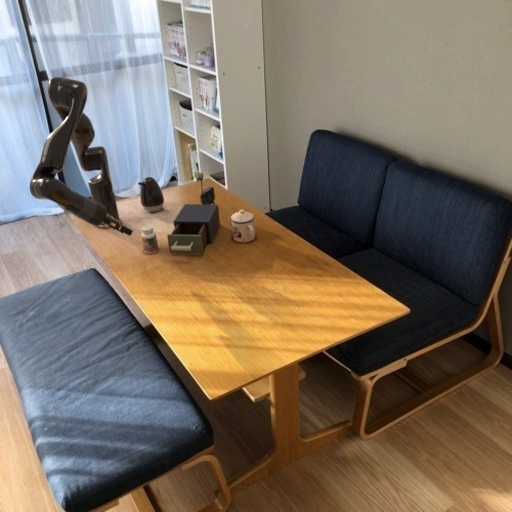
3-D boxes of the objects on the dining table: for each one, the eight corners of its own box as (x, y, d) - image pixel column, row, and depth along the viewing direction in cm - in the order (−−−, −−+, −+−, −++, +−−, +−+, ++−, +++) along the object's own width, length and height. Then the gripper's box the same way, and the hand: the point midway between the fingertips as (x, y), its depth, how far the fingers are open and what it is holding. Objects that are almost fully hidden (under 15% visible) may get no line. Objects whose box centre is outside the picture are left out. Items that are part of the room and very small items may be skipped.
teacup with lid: (228, 236, 201) (225, 209, 195) (248, 230, 205) (246, 203, 199) (243, 248, 192) (241, 220, 186) (264, 241, 195) (262, 213, 190)
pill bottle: (143, 254, 192) (138, 231, 187) (145, 247, 197) (141, 224, 192) (157, 253, 192) (153, 230, 187) (159, 246, 197) (155, 224, 192)
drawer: (199, 261, 183) (196, 243, 180) (165, 260, 185) (162, 242, 182) (212, 235, 200) (210, 218, 196) (181, 235, 202) (178, 218, 199)
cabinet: (211, 243, 197) (208, 221, 192) (176, 242, 199) (173, 221, 194) (220, 225, 210) (218, 204, 205) (187, 224, 212) (184, 204, 208)
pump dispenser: (137, 210, 228) (131, 178, 220) (157, 202, 234) (152, 171, 226) (150, 216, 221) (144, 183, 214) (170, 209, 227) (165, 176, 220)
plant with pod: (222, 213, 220) (217, 168, 210) (198, 220, 215) (193, 175, 205) (212, 207, 226) (208, 163, 216) (190, 214, 221) (184, 170, 211)
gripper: (103, 206, 167) (140, 226, 179) (85, 195, 177) (121, 214, 189) (92, 226, 167) (129, 245, 179) (74, 214, 177) (111, 232, 188)
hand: (125, 229), depth 184 cm, fingers open, 8 cm apart
